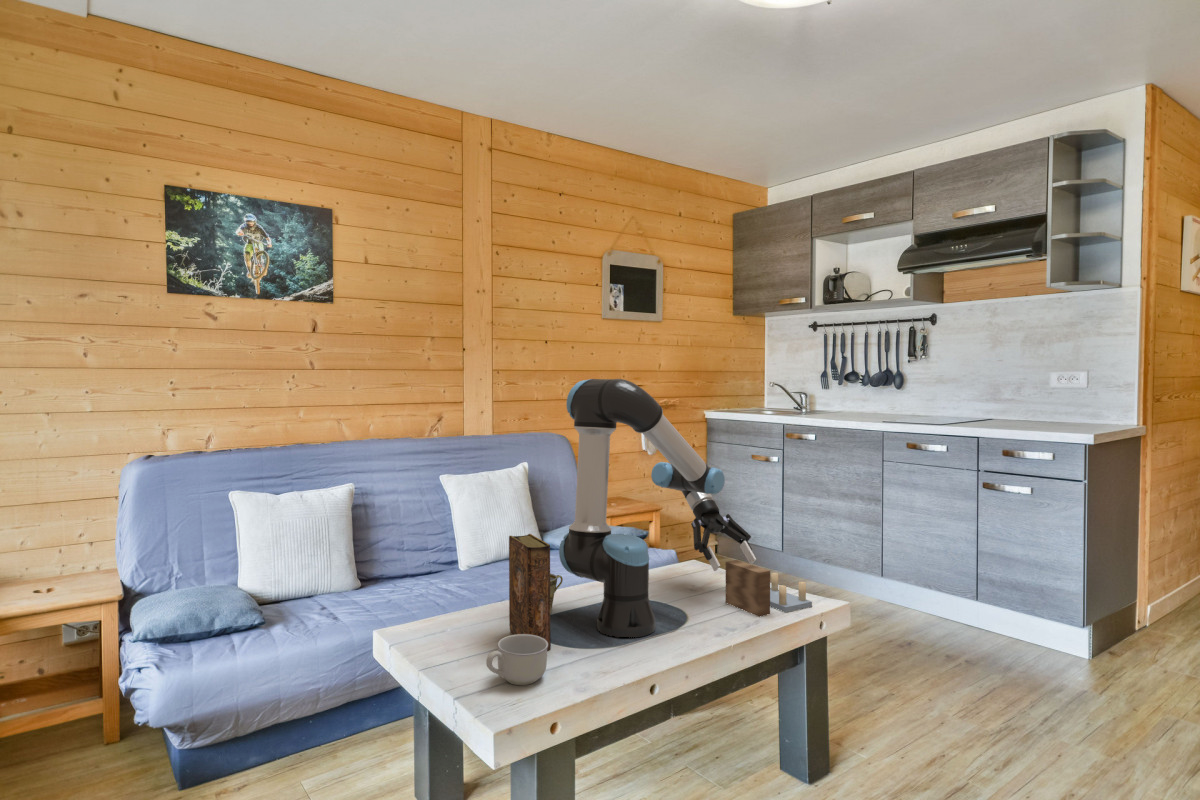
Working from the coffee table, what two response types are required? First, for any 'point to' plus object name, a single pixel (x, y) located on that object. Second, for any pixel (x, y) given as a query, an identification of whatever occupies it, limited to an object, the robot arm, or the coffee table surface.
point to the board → (748, 587)
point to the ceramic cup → (553, 587)
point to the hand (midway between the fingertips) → (735, 565)
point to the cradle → (787, 596)
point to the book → (529, 587)
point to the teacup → (520, 658)
